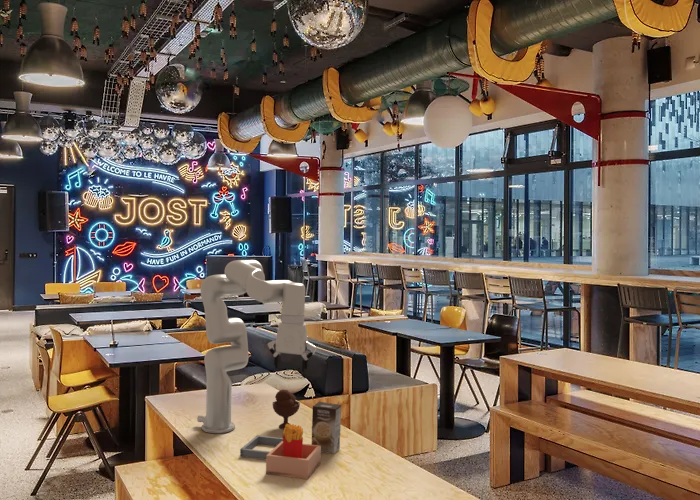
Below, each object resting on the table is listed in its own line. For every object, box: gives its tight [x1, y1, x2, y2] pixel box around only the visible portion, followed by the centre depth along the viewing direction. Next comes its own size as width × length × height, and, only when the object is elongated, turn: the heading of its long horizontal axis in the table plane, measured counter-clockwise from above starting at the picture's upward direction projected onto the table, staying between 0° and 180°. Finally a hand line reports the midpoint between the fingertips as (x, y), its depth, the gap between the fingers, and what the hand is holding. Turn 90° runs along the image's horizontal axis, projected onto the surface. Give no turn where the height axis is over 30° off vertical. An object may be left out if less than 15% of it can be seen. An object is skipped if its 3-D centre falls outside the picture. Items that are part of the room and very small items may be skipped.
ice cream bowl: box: [272, 389, 301, 430], centre depth 247 cm, size 11×11×15 cm
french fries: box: [282, 423, 304, 458], centre depth 206 cm, size 9×4×13 cm, turn 39°
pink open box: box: [265, 441, 322, 480], centre depth 206 cm, size 14×14×6 cm
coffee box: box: [311, 401, 342, 455], centre depth 224 cm, size 9×6×16 cm
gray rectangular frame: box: [239, 434, 283, 460], centre depth 221 cm, size 12×15×2 cm
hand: (291, 369), depth 213 cm, fingers open, 9 cm apart
